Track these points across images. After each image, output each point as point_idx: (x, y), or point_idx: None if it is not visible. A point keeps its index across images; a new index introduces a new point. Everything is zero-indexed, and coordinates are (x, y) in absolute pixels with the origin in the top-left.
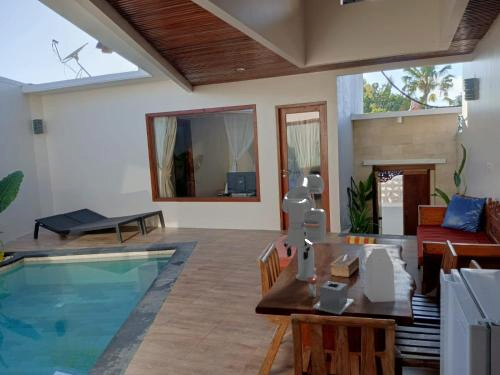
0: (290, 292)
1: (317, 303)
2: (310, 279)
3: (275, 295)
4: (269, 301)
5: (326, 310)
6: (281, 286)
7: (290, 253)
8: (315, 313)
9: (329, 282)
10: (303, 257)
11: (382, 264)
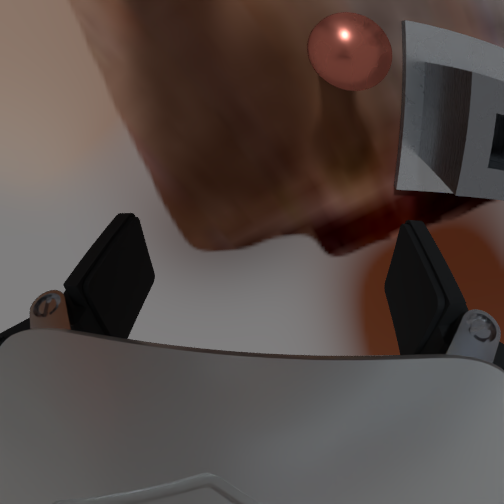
0: (197, 68)
1: (404, 151)
2: (345, 70)
3: (164, 145)
4: (190, 212)
5: (450, 191)
6: (111, 38)
7: (128, 260)
8: None
9: (486, 101)
10: (389, 307)
11: None
